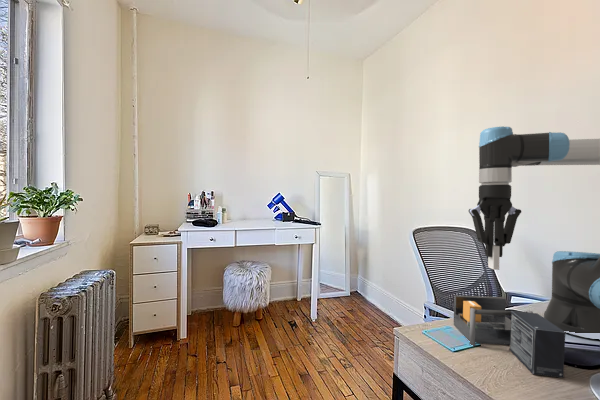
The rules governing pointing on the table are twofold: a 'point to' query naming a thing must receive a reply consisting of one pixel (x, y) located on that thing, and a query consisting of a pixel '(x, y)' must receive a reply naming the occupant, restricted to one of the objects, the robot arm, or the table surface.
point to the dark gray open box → (484, 320)
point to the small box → (537, 344)
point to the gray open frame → (484, 312)
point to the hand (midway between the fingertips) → (493, 268)
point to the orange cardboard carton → (466, 310)
